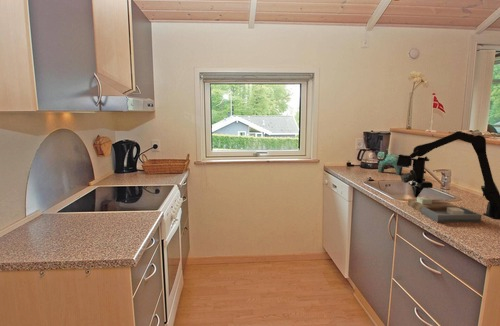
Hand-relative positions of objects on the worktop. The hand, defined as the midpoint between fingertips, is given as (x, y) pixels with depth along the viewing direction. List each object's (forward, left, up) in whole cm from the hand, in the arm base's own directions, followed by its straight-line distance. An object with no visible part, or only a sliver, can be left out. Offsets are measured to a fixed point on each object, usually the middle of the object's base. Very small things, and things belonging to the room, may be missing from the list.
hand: (415, 197), depth 170 cm
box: (-23, -4, -4) cm, 23 cm away
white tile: (-21, -7, -2) cm, 23 cm away
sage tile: (-8, 0, -1) cm, 8 cm away
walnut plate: (-9, -4, -4) cm, 11 cm away
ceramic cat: (+85, -26, -4) cm, 89 cm away
